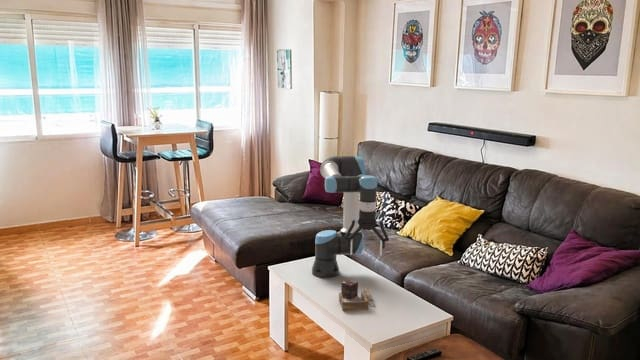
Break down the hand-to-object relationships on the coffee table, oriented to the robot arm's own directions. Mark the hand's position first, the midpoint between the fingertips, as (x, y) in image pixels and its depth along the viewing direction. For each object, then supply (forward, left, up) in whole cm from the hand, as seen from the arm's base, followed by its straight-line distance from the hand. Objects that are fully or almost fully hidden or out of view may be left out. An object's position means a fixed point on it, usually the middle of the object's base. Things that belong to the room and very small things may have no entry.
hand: (365, 254), depth 238 cm
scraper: (-10, +4, -26) cm, 28 cm away
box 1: (-14, -5, -27) cm, 30 cm away
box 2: (-4, -5, -26) cm, 27 cm away
